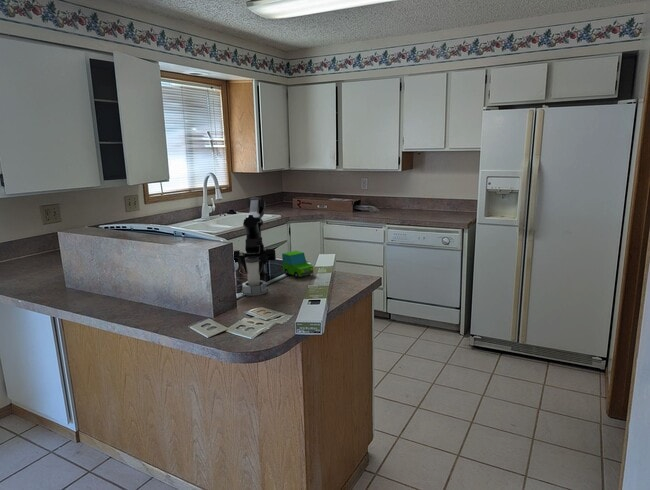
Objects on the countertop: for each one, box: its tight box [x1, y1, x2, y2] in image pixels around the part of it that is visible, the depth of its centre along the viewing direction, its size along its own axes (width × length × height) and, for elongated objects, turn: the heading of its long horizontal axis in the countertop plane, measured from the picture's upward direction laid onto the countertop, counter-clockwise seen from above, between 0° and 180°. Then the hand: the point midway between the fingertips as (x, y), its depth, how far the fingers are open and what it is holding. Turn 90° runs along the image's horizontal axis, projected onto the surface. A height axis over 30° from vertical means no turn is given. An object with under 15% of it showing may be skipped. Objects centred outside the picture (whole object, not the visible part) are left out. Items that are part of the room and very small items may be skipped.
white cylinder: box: [245, 257, 261, 286], centre depth 184 cm, size 5×5×13 cm
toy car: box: [281, 250, 314, 279], centre depth 208 cm, size 10×13×10 cm
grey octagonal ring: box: [240, 279, 269, 297], centre depth 186 cm, size 11×11×4 cm
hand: (253, 273), depth 183 cm, fingers open, 5 cm apart
